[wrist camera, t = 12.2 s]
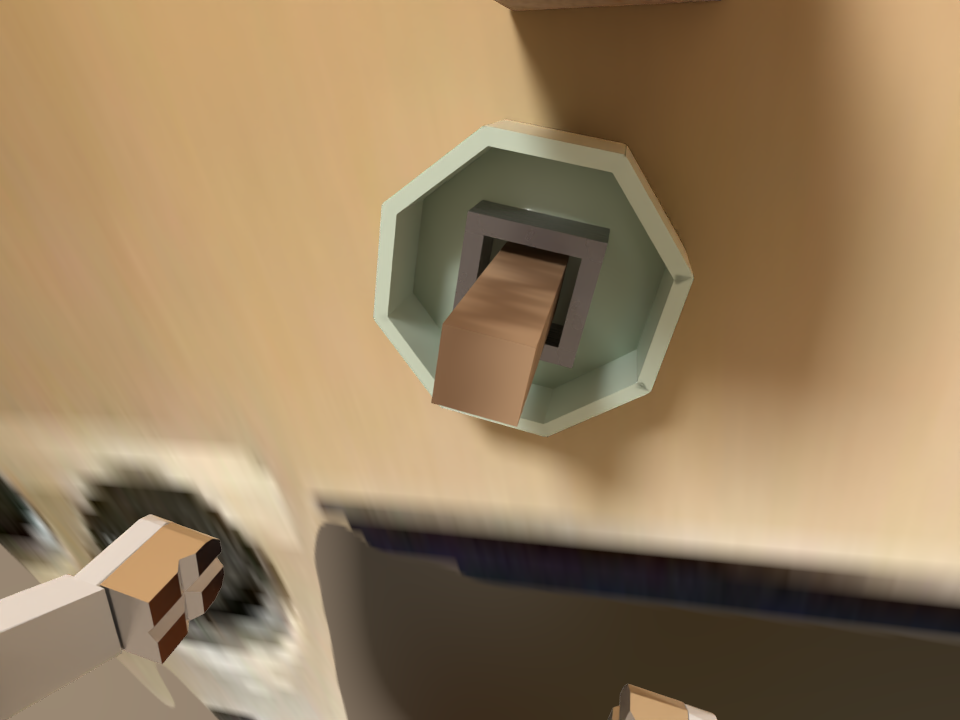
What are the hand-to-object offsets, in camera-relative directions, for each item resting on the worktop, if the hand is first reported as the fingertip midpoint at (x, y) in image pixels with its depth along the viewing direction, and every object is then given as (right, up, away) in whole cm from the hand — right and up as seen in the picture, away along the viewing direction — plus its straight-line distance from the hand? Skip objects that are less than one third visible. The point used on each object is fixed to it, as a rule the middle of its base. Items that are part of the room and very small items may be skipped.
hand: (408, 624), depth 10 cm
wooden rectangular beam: (+4, +10, +20) cm, 23 cm away
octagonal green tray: (+4, +10, +21) cm, 24 cm away
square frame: (+4, +10, +21) cm, 24 cm away
